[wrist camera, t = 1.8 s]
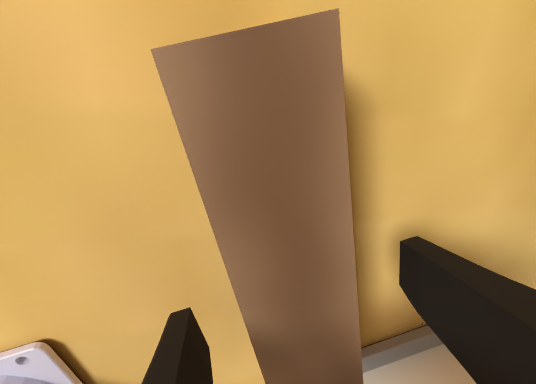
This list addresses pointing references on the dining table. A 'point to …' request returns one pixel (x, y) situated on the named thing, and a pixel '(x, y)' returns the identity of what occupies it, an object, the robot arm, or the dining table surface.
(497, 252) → the dining table surface
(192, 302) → the dining table surface
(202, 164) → the walnut bar
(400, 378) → the ridge
